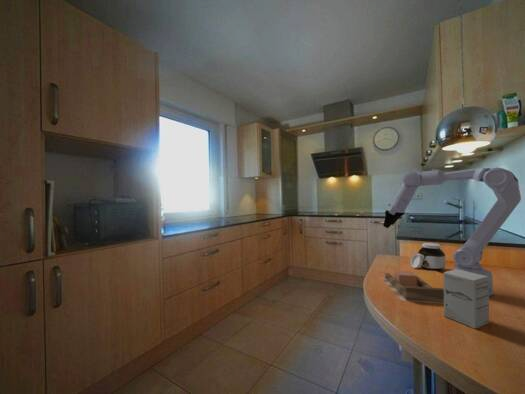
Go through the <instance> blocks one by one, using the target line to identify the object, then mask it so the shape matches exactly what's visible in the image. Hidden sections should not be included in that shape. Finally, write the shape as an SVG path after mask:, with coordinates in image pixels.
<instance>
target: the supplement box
mask: <svg viewBox="0 0 525 394" xmlns="http://www.w3.org/2000/svg"><path fill="white" fill-rule="evenodd" d="M443 289H444V304H443V316H444V317H445V318H449V319H451V320H454V321H456V322H459V323H461V324H463V325H465V326H468V327H470V328H471V329H475V330H476V329H478V328H480V327H483V326H485V325H488V324H489V323H490V296H489V277H488V276H484V275H480V274H475V273H471V272H467V271H463V270H459V269H455V268H454V269H451V270H447V271H444V272H443Z"/></svg>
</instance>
